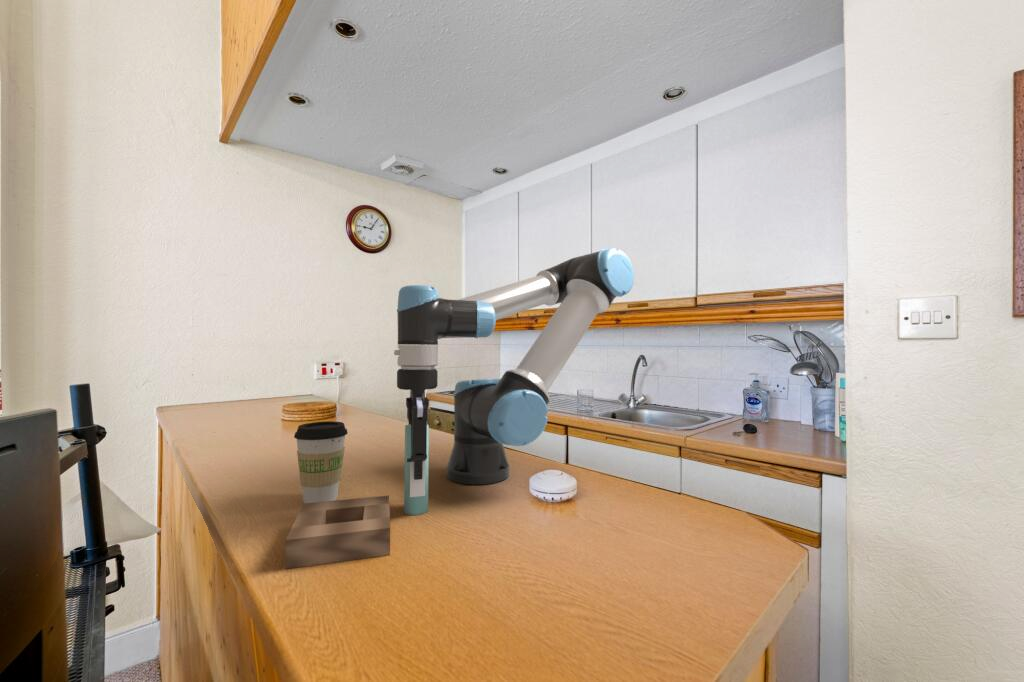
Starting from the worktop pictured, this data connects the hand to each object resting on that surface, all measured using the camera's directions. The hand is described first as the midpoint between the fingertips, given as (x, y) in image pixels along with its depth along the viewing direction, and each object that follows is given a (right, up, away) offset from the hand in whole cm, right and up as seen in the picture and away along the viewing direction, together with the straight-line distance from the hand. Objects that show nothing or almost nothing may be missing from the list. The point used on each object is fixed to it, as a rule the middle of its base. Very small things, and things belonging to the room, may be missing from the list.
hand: (416, 490), depth 79 cm
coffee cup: (-20, -4, +5) cm, 21 cm away
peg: (0, -4, 0) cm, 4 cm away
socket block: (-9, -3, -12) cm, 15 cm away
